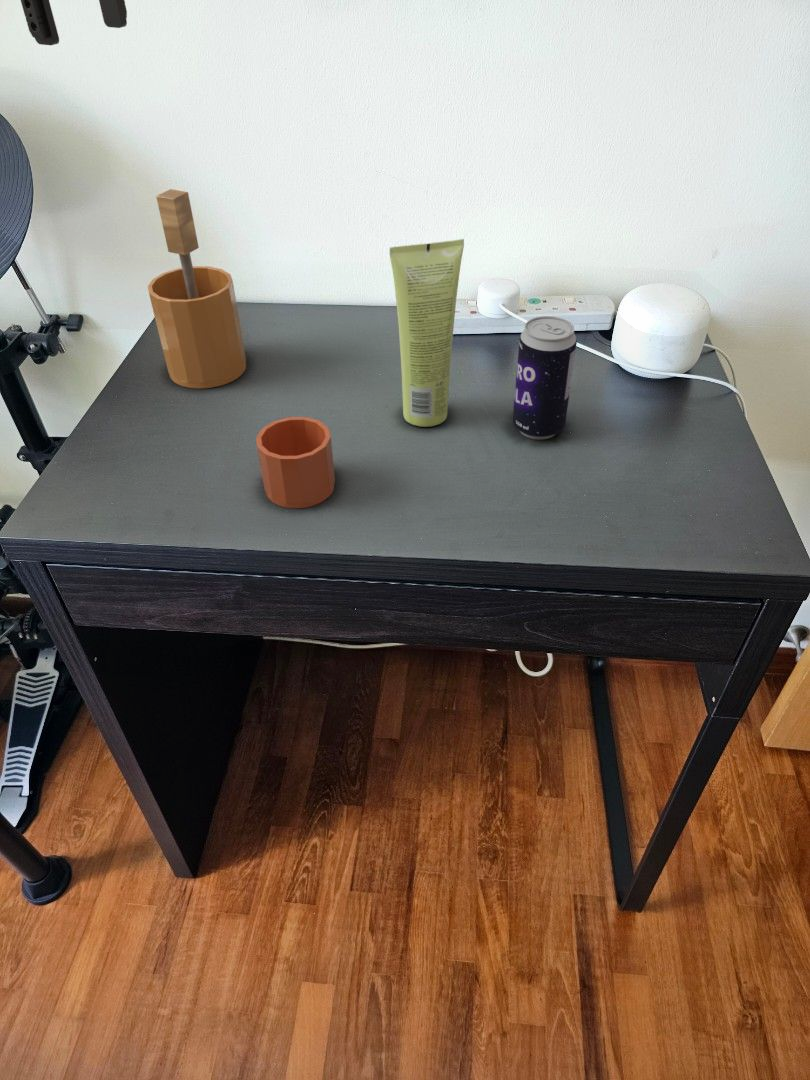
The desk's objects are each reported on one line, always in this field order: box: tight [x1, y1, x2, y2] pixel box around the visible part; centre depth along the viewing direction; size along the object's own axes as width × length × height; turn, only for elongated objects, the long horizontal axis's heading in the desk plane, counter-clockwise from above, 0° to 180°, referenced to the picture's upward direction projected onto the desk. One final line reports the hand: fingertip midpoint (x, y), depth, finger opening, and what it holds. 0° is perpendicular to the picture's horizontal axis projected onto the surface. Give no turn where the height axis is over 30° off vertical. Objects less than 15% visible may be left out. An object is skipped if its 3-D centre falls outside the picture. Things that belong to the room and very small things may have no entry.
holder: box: [255, 416, 336, 509], centre depth 77 cm, size 7×7×6 cm
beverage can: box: [512, 315, 578, 440], centre depth 82 cm, size 6×6×12 cm
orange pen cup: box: [147, 265, 247, 390], centre depth 94 cm, size 9×9×11 cm
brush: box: [156, 188, 199, 299], centre depth 90 cm, size 4×4×20 cm
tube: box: [389, 238, 465, 428], centre depth 82 cm, size 6×5×20 cm
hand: (83, 35), depth 72 cm, fingers open, 8 cm apart
